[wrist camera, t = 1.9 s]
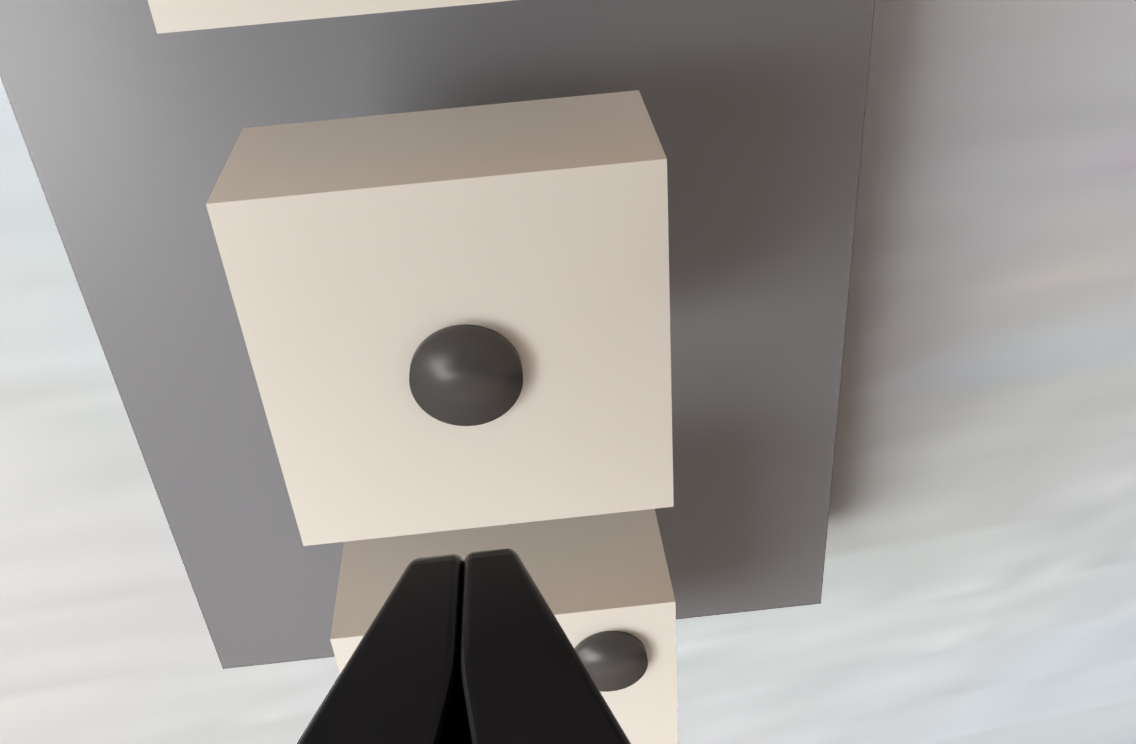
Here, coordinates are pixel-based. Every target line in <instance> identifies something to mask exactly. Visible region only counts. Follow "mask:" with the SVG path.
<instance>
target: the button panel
mask: <svg viewBox="0 0 1136 744" xmlns="http://www.w3.org/2000/svg"><path fill="white" fill-rule="evenodd" d="M874 3H875V0H514V1H503V2H492V3H481V4H471V5H460V6H449V7H439V8H428V9H417V10H406V11H396V12H385V13H374V14H364V15H353V16H342V17H331V18H321V19H310V20H299V21H289V22H278V23H267V24H256V25H246V26H235V27H224V28H213V29H203V30H192V31H181V32H171V33H160V34H157V32H156V28H155V25H154V21H153V18H152V14H151V11H150V7H149V4H148V0H0V77H1V80H2V83H3V85H4V88H5V91H6V93H7V96H8V99H9V101H10V104H11V107H12V109H13V112H14V115H15V117H16V120H17V123H18V125H19V128H20V131H21V133H22V136H23V139H24V141H25V144H26V147H27V149H28V152H29V155H30V157H31V160H32V162H33V165H34V168H35V170H36V173H37V176H38V178H39V181H40V184H41V186H42V189H43V192H44V194H45V197H46V200H47V202H48V205H49V208H50V210H51V213H52V216H53V218H54V221H55V224H56V226H57V229H58V232H59V234H60V237H61V240H62V242H63V245H64V247H65V250H66V253H67V255H68V258H69V261H70V263H71V266H72V269H73V271H74V274H75V277H76V279H77V282H78V285H79V287H80V290H81V293H82V295H83V298H84V301H85V303H86V306H87V309H88V311H89V314H90V317H91V319H92V322H93V325H94V327H95V330H96V332H97V335H98V338H99V340H100V343H101V346H102V348H103V351H104V354H105V356H106V359H107V362H108V364H109V367H110V370H111V372H112V375H113V378H114V380H115V383H116V386H117V388H118V391H119V394H120V396H121V399H122V402H123V404H124V407H125V410H126V412H127V415H128V417H129V420H130V423H131V425H132V428H133V431H134V433H135V436H136V439H137V441H138V444H139V447H140V449H141V452H142V455H143V457H144V460H145V463H146V465H147V468H148V471H149V473H150V476H151V479H152V481H153V484H154V487H155V489H156V492H157V495H158V497H159V500H160V502H161V505H162V508H163V510H164V513H165V516H166V518H167V521H168V524H169V526H170V529H171V532H172V534H173V537H174V540H175V542H176V545H177V548H178V550H179V553H180V556H181V558H182V561H183V564H184V566H185V569H186V572H187V574H188V577H189V580H190V582H191V585H192V587H193V590H194V593H195V595H196V598H197V601H198V603H199V606H200V609H201V611H202V614H203V617H204V619H205V622H206V625H207V627H208V630H209V633H210V635H211V638H212V641H213V643H214V646H215V649H216V651H217V654H218V657H219V659H220V662H221V664H222V667H223V669H226V668H235V667H244V666H254V665H263V664H272V663H281V662H290V661H299V660H308V659H318V658H327V657H335V655H334V651H333V648H332V644H331V641H330V636H331V629H332V622H333V615H334V608H335V601H336V594H337V587H338V580H339V573H340V566H341V559H342V552H343V545H344V542H337V543H328V544H319V545H309V546H303V543H302V539H301V536H300V532H299V529H298V525H297V522H296V518H295V515H294V511H293V508H292V504H291V501H290V497H289V494H288V490H287V487H286V483H285V480H284V476H283V473H282V469H281V466H280V462H279V459H278V455H277V452H276V448H275V445H274V441H273V438H272V434H271V431H270V427H269V424H268V420H267V417H266V413H265V410H264V406H263V403H262V399H261V396H260V392H259V389H258V385H257V382H256V378H255V375H254V371H253V368H252V364H251V361H250V357H249V354H248V350H247V347H246V343H245V340H244V336H243V333H242V329H241V326H240V322H239V319H238V315H237V312H236V308H235V305H234V301H233V298H232V294H231V291H230V287H229V284H228V280H227V277H226V273H225V270H224V266H223V263H222V259H221V256H220V252H219V249H218V245H217V242H216V238H215V235H214V231H213V228H212V224H211V221H210V217H209V214H208V210H207V207H206V202H207V200H208V198H209V196H210V194H211V192H212V190H213V188H214V186H215V184H216V182H217V180H218V178H219V176H220V174H221V172H222V170H223V168H224V166H225V164H226V162H227V160H228V158H229V156H230V154H231V152H232V150H233V148H234V146H235V144H236V142H237V140H238V138H239V136H240V134H241V131H242V129H243V128H249V127H259V126H270V125H280V124H291V123H301V122H312V121H322V120H332V119H343V118H353V117H364V116H374V115H385V114H395V113H405V112H416V111H426V110H437V109H447V108H458V107H468V106H478V105H489V104H499V103H510V102H520V101H531V100H541V99H551V98H562V97H572V96H583V95H593V94H604V93H614V92H624V91H635V90H639V92H640V94H641V97H642V99H643V102H644V104H645V106H646V109H647V111H648V114H649V116H650V119H651V121H652V124H653V126H654V128H655V131H656V133H657V136H658V138H659V141H660V143H661V146H662V148H663V150H664V153H665V155H666V158H667V186H668V239H669V291H670V343H671V396H672V448H673V500H674V507H666V508H656V509H655V512H656V517H657V521H658V526H659V530H660V535H661V539H662V544H663V548H664V553H665V557H666V562H667V566H668V571H669V575H670V580H671V584H672V589H673V593H674V597H675V605H676V619H683V618H692V617H701V616H710V615H719V614H729V613H738V612H747V611H756V610H765V609H774V608H783V607H793V606H802V605H811V604H820V603H821V594H822V583H823V571H824V560H825V549H826V538H827V527H828V516H829V505H830V493H831V482H832V471H833V460H834V449H835V438H836V426H837V415H838V404H839V393H840V382H841V371H842V360H843V348H844V337H845V326H846V315H847V304H848V293H849V281H850V270H851V259H852V248H853V237H854V226H855V214H856V203H857V192H858V181H859V170H860V159H861V148H862V136H863V125H864V114H865V103H866V92H867V81H868V69H869V58H870V47H871V36H872V25H873V14H874Z"/></svg>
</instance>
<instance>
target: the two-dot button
mask: <svg viewBox="0 0 1136 744" xmlns="http://www.w3.org/2000/svg"><path fill="white" fill-rule="evenodd" d="M503 1H514V0H148V4H149V7H150V11H151V14H152V18H153V21H154V25H155V28H156V32H157V34H160V33H171V32H181V31H192V30H203V29H213V28H224V27H235V26H246V25H256V24H267V23H278V22H289V21H299V20H310V19H321V18H331V17H342V16H353V15H364V14H374V13H385V12H396V11H406V10H417V9H428V8H439V7H449V6H460V5H471V4H481V3H492V2H503Z"/></svg>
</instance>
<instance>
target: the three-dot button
mask: <svg viewBox="0 0 1136 744" xmlns="http://www.w3.org/2000/svg"><path fill="white" fill-rule="evenodd" d="M505 548H509V549H512V550H514V551H515V552H516V553H517V554H518V555H519V557H520V559H521V560H522V562H523V564H524V565H525V567H526V569H527V570H528V572H529V574H530V575H531V577H532V579H533V580H534V582H535V584H536V585H537V587H538V589H539V590H540V592H541V594H542V595H543V597H544V599H545V600H546V602H547V604H548V606H549V607H550V609H551V611H552V612H553V614H554V616H555V617H556V619H557V621H558V622H559V624H560V626H561V627H562V629H563V631H564V632H565V634H566V636H567V637H568V639H569V641H570V642H571V644H572V646H573V647H574V649H575V651H576V652H577V654H578V656H579V657H580V659H581V661H582V662H583V664H584V666H585V667H586V669H587V671H588V673H589V674H590V676H591V678H592V679H593V681H594V683H595V684H596V686H597V688H598V689H599V691H600V693H601V694H602V696H603V698H604V699H605V701H606V703H607V704H608V706H609V708H610V709H611V711H612V713H613V714H614V716H615V718H616V719H617V721H618V723H619V724H620V726H621V728H622V729H623V731H624V733H625V734H626V736H627V738H628V739H629V741H630V743H631V744H678V709H677V657H676V605H675V597H674V593H673V589H672V584H671V580H670V575H669V571H668V566H667V562H666V557H665V553H664V548H663V544H662V539H661V535H660V530H659V526H658V521H657V517H656V512H655V509H647V510H638V511H628V512H619V513H610V514H600V515H591V516H581V517H572V518H563V519H553V520H544V521H534V522H525V523H516V524H506V525H497V526H488V527H478V528H469V529H459V530H450V531H441V532H431V533H422V534H412V535H403V536H394V537H384V538H375V539H366V540H356V541H347V542H344V545H343V552H342V559H341V566H340V573H339V580H338V587H337V594H336V601H335V608H334V615H333V622H332V629H331V636H330V641H331V644H332V648H333V651H334V655H335V658H336V662H337V665H338V669H339V672H340V673H341V672H342V670H343V669H344V667H345V665H346V664H347V662H348V661H349V659H350V657H351V656H352V654H353V653H354V651H355V649H356V648H357V646H358V645H359V643H360V641H361V640H362V638H363V636H364V635H365V633H366V632H367V630H368V628H369V627H370V625H371V624H372V622H373V620H374V619H375V617H376V616H377V614H378V612H379V611H380V609H381V608H382V606H383V604H384V603H385V601H386V600H387V598H388V596H389V595H390V593H391V591H392V590H393V588H394V587H395V585H396V583H397V582H398V580H399V579H400V577H401V575H402V574H403V572H404V571H405V569H406V567H407V566H408V564H409V563H410V562H411V561H413V560H414V559H416V558H421V557H431V556H440V555H449V554H457V555H459V556H460V557H461V558H462V559H463V560H464V559H465V557H466V555H468V554H469V553H471V552H477V551H486V550H496V549H505Z"/></svg>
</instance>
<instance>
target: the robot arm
mask: <svg viewBox="0 0 1136 744" xmlns="http://www.w3.org/2000/svg"><path fill="white" fill-rule="evenodd" d="M297 744H631V743H630V741H629V739H628V738H627V736H626V734H625V733H624V731H623V729H622V728H621V726H620V724H619V723H618V721H617V719H616V718H615V716H614V714H613V713H612V711H611V709H610V708H609V706H608V704H607V703H606V701H605V699H604V698H603V696H602V694H601V693H600V691H599V689H598V688H597V686H596V684H595V683H594V681H593V679H592V678H591V676H590V674H589V673H588V671H587V669H586V667H585V666H584V664H583V662H582V661H581V659H580V657H579V656H578V654H577V652H576V651H575V649H574V647H573V646H572V644H571V642H570V641H569V639H568V637H567V636H566V634H565V632H564V631H563V629H562V627H561V626H560V624H559V622H558V621H557V619H556V617H555V616H554V614H553V612H552V611H551V609H550V607H549V606H548V604H547V602H546V600H545V599H544V597H543V595H542V594H541V592H540V590H539V589H538V587H537V585H536V584H535V582H534V580H533V579H532V577H531V575H530V574H529V572H528V570H527V569H526V567H525V565H524V564H523V562H522V560H521V559H520V557H519V555H518V554H517V553H516V552H515V551H514V550H512V549H509V548H505V549H496V550H486V551H477V552H471V553H469V554H468V555H466V557H465V559H464V560H463V559H462V558H461V557H460V556H459V555H457V554H449V555H440V556H431V557H421V558H416V559H414V560H413V561H411V562H410V563H409V564H408V566H407V567H406V569H405V571H404V572H403V574H402V575H401V577H400V579H399V580H398V582H397V583H396V585H395V587H394V588H393V590H392V591H391V593H390V595H389V596H388V598H387V600H386V601H385V603H384V604H383V606H382V608H381V609H380V611H379V612H378V614H377V616H376V617H375V619H374V620H373V622H372V624H371V625H370V627H369V628H368V630H367V632H366V633H365V635H364V636H363V638H362V640H361V641H360V643H359V645H358V646H357V648H356V649H355V651H354V653H353V654H352V656H351V657H350V659H349V661H348V662H347V664H346V665H345V667H344V669H343V670H342V672H341V673H340V675H339V677H338V678H337V680H336V682H335V683H334V685H333V686H332V688H331V690H330V691H329V693H328V694H327V696H326V698H325V699H324V701H323V702H322V704H321V706H320V707H319V709H318V710H317V712H316V714H315V715H314V717H313V718H312V720H311V722H310V723H309V725H308V727H307V728H306V730H305V731H304V733H303V735H302V736H301V738H300V739H299V741H298V743H297Z"/></svg>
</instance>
